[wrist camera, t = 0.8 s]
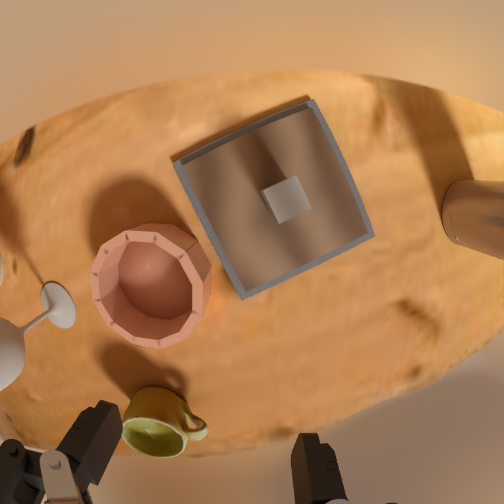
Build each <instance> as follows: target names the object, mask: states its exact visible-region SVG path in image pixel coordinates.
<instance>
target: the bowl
mask: <svg viewBox="0 0 504 504" xmlns="http://www.w3.org/2000/svg"><path fill="white" fill-rule="evenodd" d="M90 278H91V288H92V297H93V302H94V304H95V305H96V307H97V309H98V310H99V312H100V314H101V315H102V317H103V319H104V320H105V322H106V324H107V325H108V327H109V328H111V329H112V330H114V331H115V332H116V333H118V334H119V335H121V336H122V337H124V338H125V339H126V340H128V341H129V342H131V343H132V344H136V345H141V346H148V347H154V348H160V349H161V348H164V347H167V346H169V345H172V344H175V343H177V342H180V341H182V340H185V339H187V338H188V336H189V335H190V333H191V332H192V330H193V329H194V327H195V326H196V324H197V323H198V321H199V320H200V319H201V317H202V315H203V313H204V310H205V307H206V305H207V302H208V299H209V296H210V294H211V264H210V262H209V261H208V259H207V257H206V255H205V253H204V251H203V249H202V247H201V245H200V243H199V241H198V240H197V239H195V238H194V237H192V236H191V235H189V234H188V233H186V232H185V231H183V230H182V229H180V228H179V227H177V226H176V225H174V224H156V223H146V224H143V225H140V226H137V227H134V228H131V229H128V230H125V231H123V232H122V233H120V234H119V235H117V236H115V237H114V238H112V239H111V240H109V241H107V242H106V243H104V244H103V245H101V247H100V249H99V251H98V254H97V256H96V258H95V261H94V263H93V265H92V268H91V270H90Z"/></svg>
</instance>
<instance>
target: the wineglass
mask: <svg viewBox="0 0 504 504" xmlns="http://www.w3.org/2000/svg"><path fill="white" fill-rule="evenodd" d="M41 304H42V307H43V310H44V313H42V314H41V315H39V316H38V317H36V318H35V319H34V320H32V321H31V322H29V323H28V324H26V325H25V326H23V327H17V326H15V325H14V324H12V323H11V322H9V321H8V320H6V319H3V318H1V317H0V391H1V390H2V389H4V388H5V387H7V386H8V385H9V384H11V383H12V382H13V381H14V380H15V379H16V378H17V377H18V375H19V374H20V373H21V371H22V369H23V366H24V363H25V343H24V334H25V333H26V332H27V331H28V330H29V329H30V328H32V327H33V326H35V325H36V324H37V323H39V322H40V321H41V320H43V319H44V318H46V317H48V319H49V320H50V321H51V322H52V323H53V324H55V325H56V326H58V327H60V328H64V329H65V328H69V327H71V326H72V325H73V324H74V323H75V320H76V308H75V304H74V302H73V299H72V297H71V296H70V294H69V293H68V291H67V290H66V289H65V288H64V287H62V286H61V285H60V284H57V283H53V282H51V283H48V284H46V285H45V286H44V287H43V289H42V292H41Z"/></svg>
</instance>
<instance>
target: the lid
mask: <svg viewBox="0 0 504 504" xmlns="http://www.w3.org/2000/svg"><path fill="white" fill-rule="evenodd" d="M182 167H183V169H184V171H185V173H186V175H187V177H188V179H189V181H190V183H191V185H192V187H193V189H194V191H195V193H196V195H197V197H198V199H199V201H200V203H201V205H202V207H203V209H204V211H205V213H206V215H207V217H208V219H209V221H210V223H211V225H212V227H213V229H214V231H215V233H216V235H217V237H218V239H219V241H220V243H221V245H222V247H223V249H224V251H225V253H226V255H227V257H228V259H229V261H230V263H231V264H232V266H233V268H234V270H235V272H236V274H237V276H238V278H239V280H240V282H241V284H242V286H243V288H244V289H245V291H249V290H251V289H253V288H255V287H257V286H260V285H262V284H264V283H266V282H268V281H270V280H273V279H275V278H277V277H279V276H281V275H283V274H285V273H288V272H290V271H292V270H294V269H296V268H298V267H300V266H302V265H304V264H306V263H308V262H311V261H313V260H315V259H317V258H319V257H321V256H323V255H325V254H327V253H329V252H331V251H333V250H335V249H337V248H339V247H341V246H343V245H345V244H347V243H349V242H351V241H353V240H355V239H357V238H359V237H361V236H363V235H365V234H367V233H368V231H367V229H366V226H365V223H364V221H363V218H362V215H361V213H360V210H359V208H358V205H357V203H356V200H355V198H354V195H353V193H352V190H351V188H350V186H349V183H348V181H347V179H346V176H345V174H344V172H343V169H342V167H341V165H340V163H339V161H338V158H337V156H336V154H335V152H334V150H333V148H332V146H331V144H330V142H329V140H328V138H327V136H326V134H325V132H324V130H323V128H322V126H321V124H320V122H319V120H318V118H317V116H316V114H315V112H314V111H313V109H312V107H311V108H308V109H305V110H303V111H300V112H297V113H295V114H292V115H290V116H287V117H285V118H282V119H280V120H277V121H275V122H272V123H270V124H268V125H265V126H263V127H261V128H258V129H256V130H254V131H252V132H249V133H247V134H245V135H243V136H241V137H238V138H236V139H234V140H232V141H230V142H228V143H226V144H224V145H222V146H220V147H218V148H216V149H214V150H212V151H210V152H208V153H206V154H204V155H202V156H200V157H198V158H196V159H194V160H192V161H190V162H189V163H187V164H185V165H183V166H182Z"/></svg>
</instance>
